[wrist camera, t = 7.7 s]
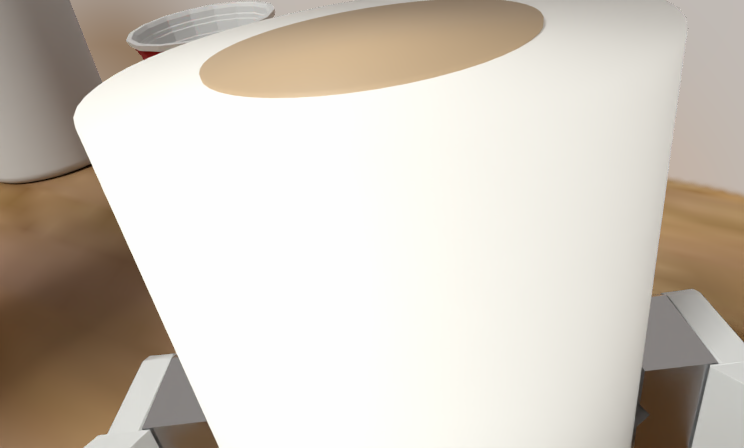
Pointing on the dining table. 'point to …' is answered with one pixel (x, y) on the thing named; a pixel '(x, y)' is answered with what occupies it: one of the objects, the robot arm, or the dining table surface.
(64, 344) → the dining table surface
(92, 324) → the dining table surface
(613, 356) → the paper roll
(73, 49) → the cylinder vase
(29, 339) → the dining table surface
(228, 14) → the plastic cup
